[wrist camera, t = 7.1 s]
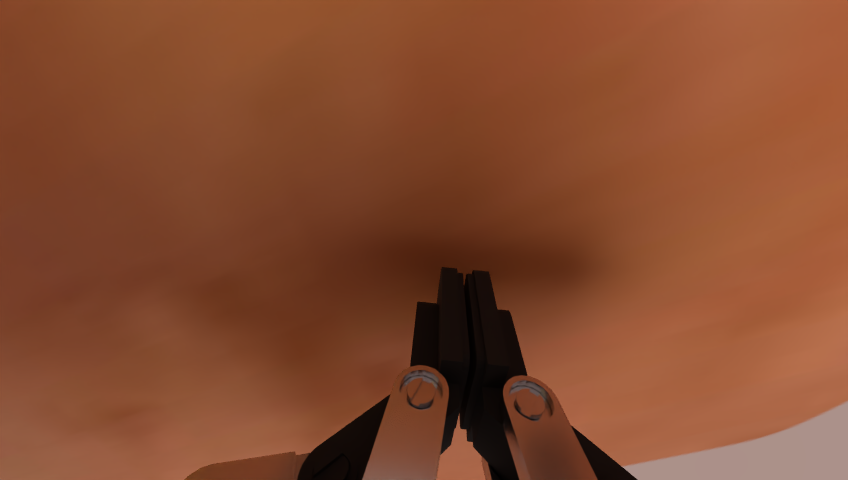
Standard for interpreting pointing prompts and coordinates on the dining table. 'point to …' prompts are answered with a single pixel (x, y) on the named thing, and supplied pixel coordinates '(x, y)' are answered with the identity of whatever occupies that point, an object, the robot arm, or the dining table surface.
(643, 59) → the dining table surface
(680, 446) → the dining table surface
